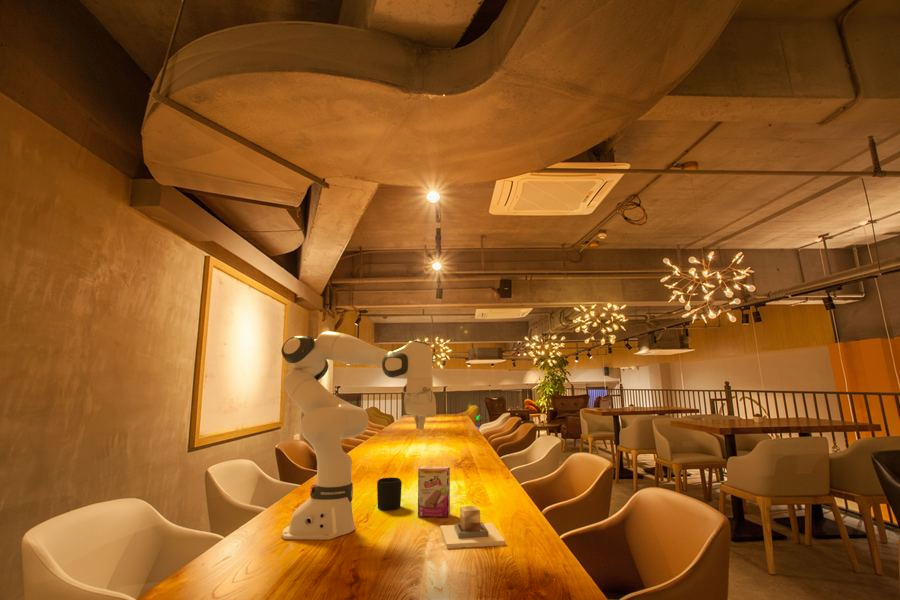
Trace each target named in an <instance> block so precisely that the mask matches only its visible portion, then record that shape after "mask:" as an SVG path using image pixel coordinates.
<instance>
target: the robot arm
mask: <svg viewBox="0 0 900 600" xmlns="http://www.w3.org/2000/svg"><path fill="white" fill-rule="evenodd" d="M280 353H281V355H282V358H283V359H284V360H285V362H287V363H288V364H289V365H290V366H291V368H292V369H291V371H289V372H287V374H286V375H285V377H284V378H283V382H282V386H283V388H284V391H285V392H286V394H287V395H288V397H289V399H290V400H291V402H292V403H293V404H295V406H296V407H297V408H298V409H299V410H300V411H301V412H302V414H303V416H302V419H301V421H300V432H301V435H302V437H303V438H304V439H305V440H306V441H308V443H309V444H310V445H311V446H312V448H313V450H314V454H315V456H316V457H315V458H316V473H317V474H316V483H312V484H311V486H310V489H309V496H310V497H309V498H308V499H306V500H305V501H304V502H303V503H302V504H300V505H299V506H298V507H297V508H296V509H295V510H294V512H293V513H292V516H291V519H290V523H289V524H288V525H287V526H286V527H284V528H283V530H282V531H281V532H282V533H281V538H282V539H284V540H327V541H328V540H333V539H334V538H336V537H340V536H344V535H347V534H349V533H350V534H351V532H353V531H355V530H356V525H355V521H354V516H353V515H354V514H353V506H352V505H353V503H352V501H353V499H354V498H353V497H354V493H353V492H354V487H353V484H354V483H353V482H352V478H353V477H352V475H353V473H352V471H353V469H352V468H353V467H352V466H353V460H352V457H351V455H350V454H349V453H347V452H345V451H344V449H343V446H342V440H345V439H346V440H347V439H352V438H353V439H354V438H356V437H358V436H361V435H362V434H364V433H365V432H366V431H367V429H369V423H370V419H369V418H370V417H369V414H368V411H366V409H364V408H363V407H360V406H357V405H354V404H352V403H350V402H348V401H346V400H344V399H342V398H340V397H339V396H337V395H335V394H333V393H332V392H330V391H329V390H328V389H327V388H326V387H325V386H324V385H323V384H322V383H320V382H319V381H320V380H321V379H322V378H323V377H324V376H325V375H326V373H328V372H327V371H329V362H328V360H329V361H332V362H335V363H339V364H344V365H352V366H353V365H376V366H381V368H382V371H383V374H384V375H385V376H387V377H388V378H390V379H391V378H392V379H402V380H404V379H406V383H405V385H404V386H403V387H402V392H403V394H404V397H403V399H404V400H403V401H404V402H403V403H404V404H403V405H404V411H405V414H406V415H411V416H414V418H413V419H414V422H415V429H416V430H419V431H423V430H425V423H426V418H434V417H436V414H437V405H436V396H435V394H434V393H433V392H434V389H433V387H434V385H433V384H434V383H433V382H434V381H433V375H432V371H433V351H432V346H431V345H430V343H429V342H425V341H422V340H421V341H420V340H414V339H413V340H409V341H408V342H407V344H405V345H404V346H402V347H400V348H398V349H396V350H393V351H392V350H388V349H384V348H380V347H378V346H376V345H372V344H371V343H368V342H366V341H364V340H362V339H360V338H358V337H356V336H353V335H351V334H347V333H343V332H338V331H324V332H322V333H320V334H319V335H318V336H317V338H315V339H314V338H313V337H312V336H311V335H306V336H305V335H304V336H303V335H296V336H293V337H290V338H289V339H287V340H286V341H285V342H284V343H283V345H282V346H281V352H280Z"/></svg>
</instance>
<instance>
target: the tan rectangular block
mask: <svg viewBox="0 0 900 600" xmlns="http://www.w3.org/2000/svg"><path fill="white" fill-rule="evenodd" d="M459 514H460V515H459V518H460V519H459V520H460V522H459V523H460V530H461V532H466V531H481V529H480V522H481V510H480V508H478V507H477V506H476V505H468V506H467V505H466V506H459Z"/></svg>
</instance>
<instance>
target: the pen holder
mask: <svg viewBox="0 0 900 600" xmlns="http://www.w3.org/2000/svg"><path fill="white" fill-rule="evenodd" d="M402 485H403V483H402V480H401V478H399V477H383V478H379V479H378V480H377V483H376V493H377V495H376V496H377V499H376V500H377V508H378V509H379V510H381V511H395V510H398V509H400V508H401V505H402V504H401V503H402Z"/></svg>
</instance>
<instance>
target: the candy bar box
mask: <svg viewBox="0 0 900 600" xmlns="http://www.w3.org/2000/svg"><path fill="white" fill-rule="evenodd" d="M450 469H451V467H450V466H420V467H419V468H418V470H417V472H418V473H417V474H418V475H417V478H418V479H417V517H418V518H443V519H444V518H447V519H448V518H449V516H450V514H451V486H450V485H451V479H450V478H451V477H450V476H451V470H450Z"/></svg>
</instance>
